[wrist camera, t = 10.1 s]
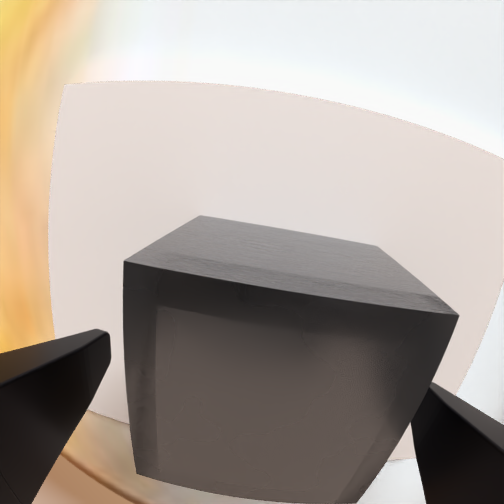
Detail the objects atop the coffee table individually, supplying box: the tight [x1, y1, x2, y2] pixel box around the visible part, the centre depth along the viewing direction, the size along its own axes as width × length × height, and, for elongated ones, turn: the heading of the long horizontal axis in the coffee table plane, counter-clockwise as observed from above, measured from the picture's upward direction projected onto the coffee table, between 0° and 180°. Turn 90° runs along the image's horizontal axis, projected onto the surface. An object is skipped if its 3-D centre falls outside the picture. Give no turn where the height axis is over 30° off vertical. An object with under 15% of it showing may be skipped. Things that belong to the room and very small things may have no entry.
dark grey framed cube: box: [123, 215, 460, 504], centre depth 9 cm, size 6×6×6 cm
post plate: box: [48, 81, 504, 460], centre depth 10 cm, size 20×16×5 cm
